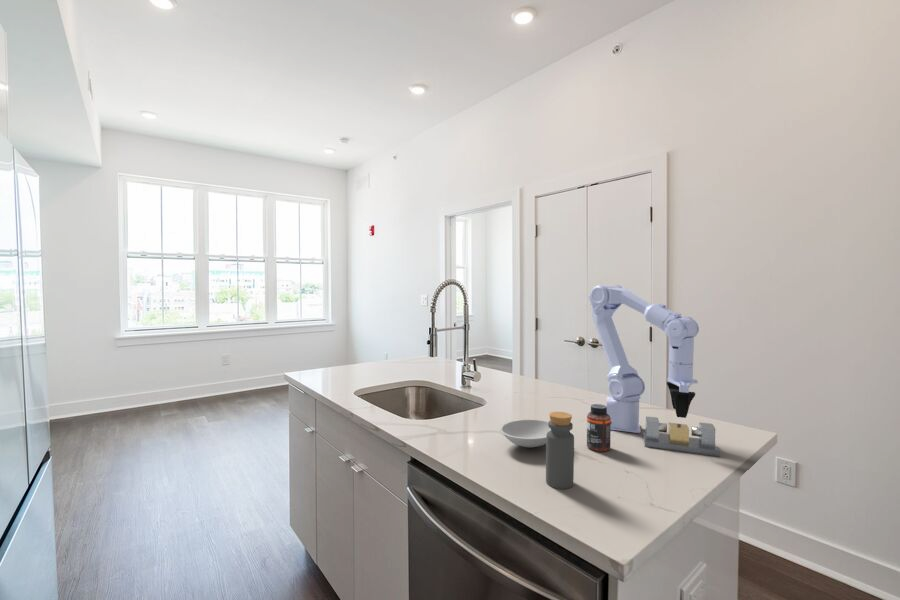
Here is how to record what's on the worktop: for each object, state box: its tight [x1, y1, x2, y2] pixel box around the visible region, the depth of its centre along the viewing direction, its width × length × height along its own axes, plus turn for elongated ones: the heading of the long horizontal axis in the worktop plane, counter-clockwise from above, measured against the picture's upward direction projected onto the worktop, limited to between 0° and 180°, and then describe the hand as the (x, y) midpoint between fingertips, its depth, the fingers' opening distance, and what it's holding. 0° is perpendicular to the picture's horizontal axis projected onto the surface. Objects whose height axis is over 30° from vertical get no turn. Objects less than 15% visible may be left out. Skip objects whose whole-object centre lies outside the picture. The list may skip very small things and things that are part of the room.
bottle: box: [545, 411, 575, 490], centre depth 91 cm, size 6×6×15 cm
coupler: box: [667, 422, 690, 444], centre depth 113 cm, size 4×4×4 cm
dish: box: [498, 418, 551, 449], centre depth 112 cm, size 18×14×5 cm
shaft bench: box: [642, 416, 720, 457], centre depth 113 cm, size 17×8×6 cm, turn 68°
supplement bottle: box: [586, 403, 612, 453], centre depth 111 cm, size 6×6×11 cm
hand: (679, 412), depth 112 cm, fingers open, 7 cm apart
